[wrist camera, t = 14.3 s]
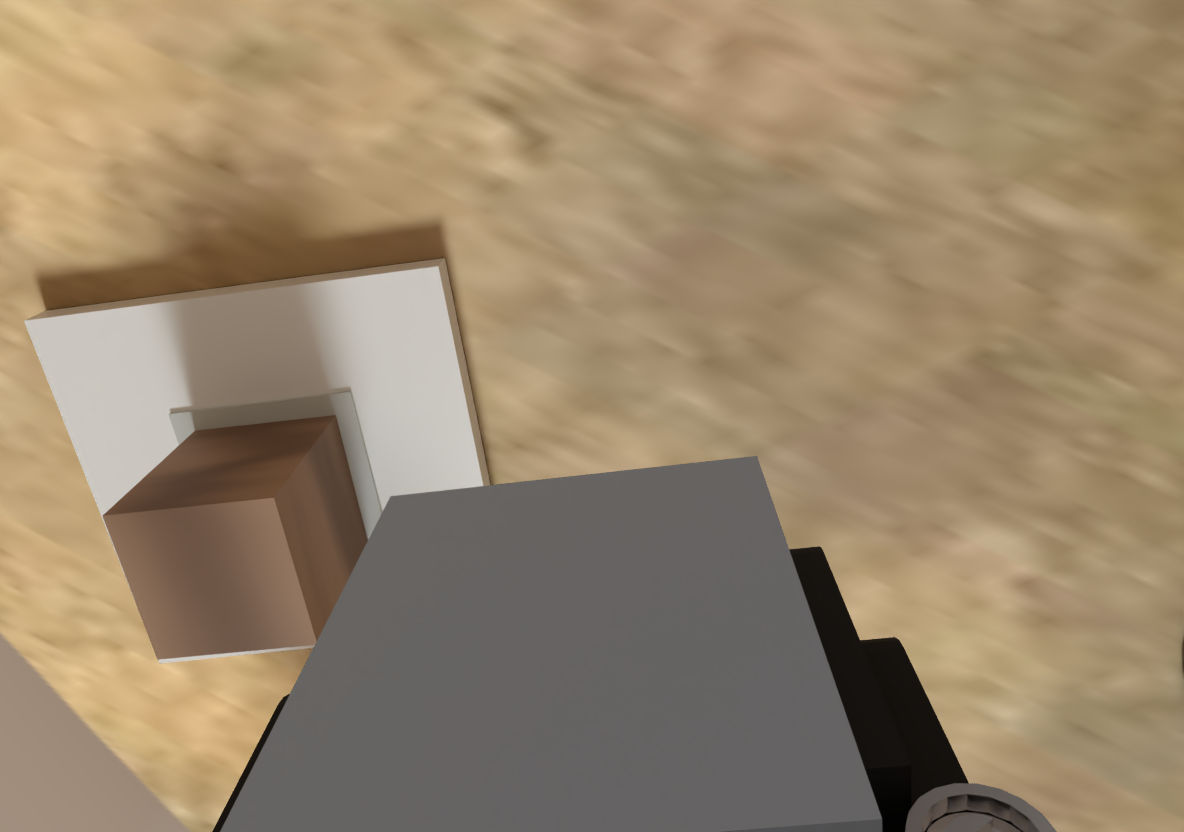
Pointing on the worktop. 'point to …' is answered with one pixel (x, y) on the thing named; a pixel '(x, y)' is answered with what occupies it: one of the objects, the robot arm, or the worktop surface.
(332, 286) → the plate
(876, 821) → the block blue
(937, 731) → the robot arm
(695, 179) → the worktop surface
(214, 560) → the block walnut
